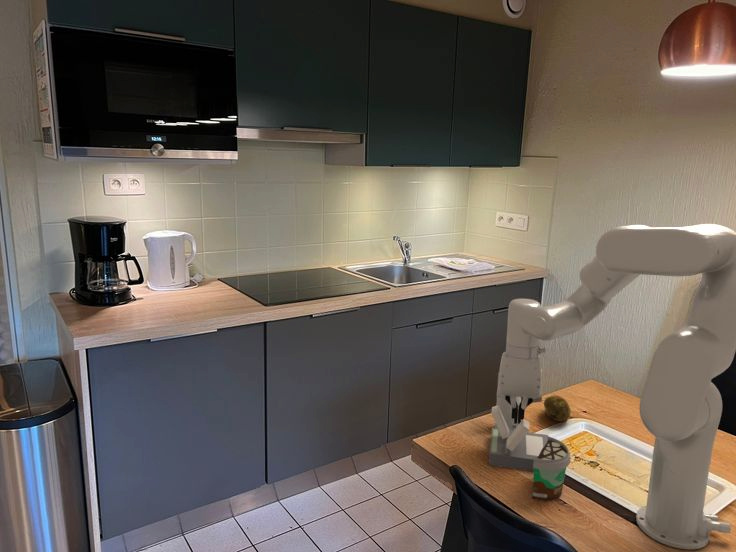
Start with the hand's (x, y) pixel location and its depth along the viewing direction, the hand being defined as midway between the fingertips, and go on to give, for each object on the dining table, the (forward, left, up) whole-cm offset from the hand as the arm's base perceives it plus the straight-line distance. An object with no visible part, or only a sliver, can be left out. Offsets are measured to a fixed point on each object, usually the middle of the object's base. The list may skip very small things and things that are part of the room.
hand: (517, 421), depth 134 cm
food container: (-8, +15, -9) cm, 19 cm away
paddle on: (+2, 0, -5) cm, 5 cm away
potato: (-11, -22, -9) cm, 27 cm away
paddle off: (+2, +5, -5) cm, 8 cm away
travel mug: (+2, -11, -9) cm, 14 cm away
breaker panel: (-1, +1, -8) cm, 8 cm away
